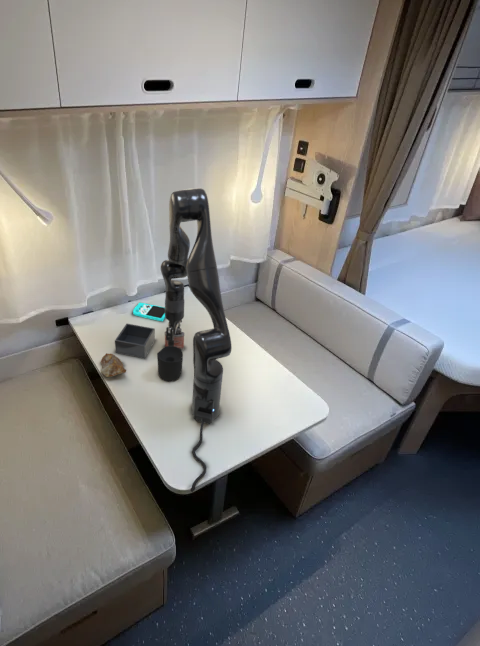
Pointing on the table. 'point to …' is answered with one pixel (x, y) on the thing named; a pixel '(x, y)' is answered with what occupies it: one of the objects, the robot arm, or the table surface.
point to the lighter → (177, 339)
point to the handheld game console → (149, 311)
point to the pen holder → (170, 363)
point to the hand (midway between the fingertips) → (174, 339)
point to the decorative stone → (111, 365)
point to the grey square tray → (135, 340)
